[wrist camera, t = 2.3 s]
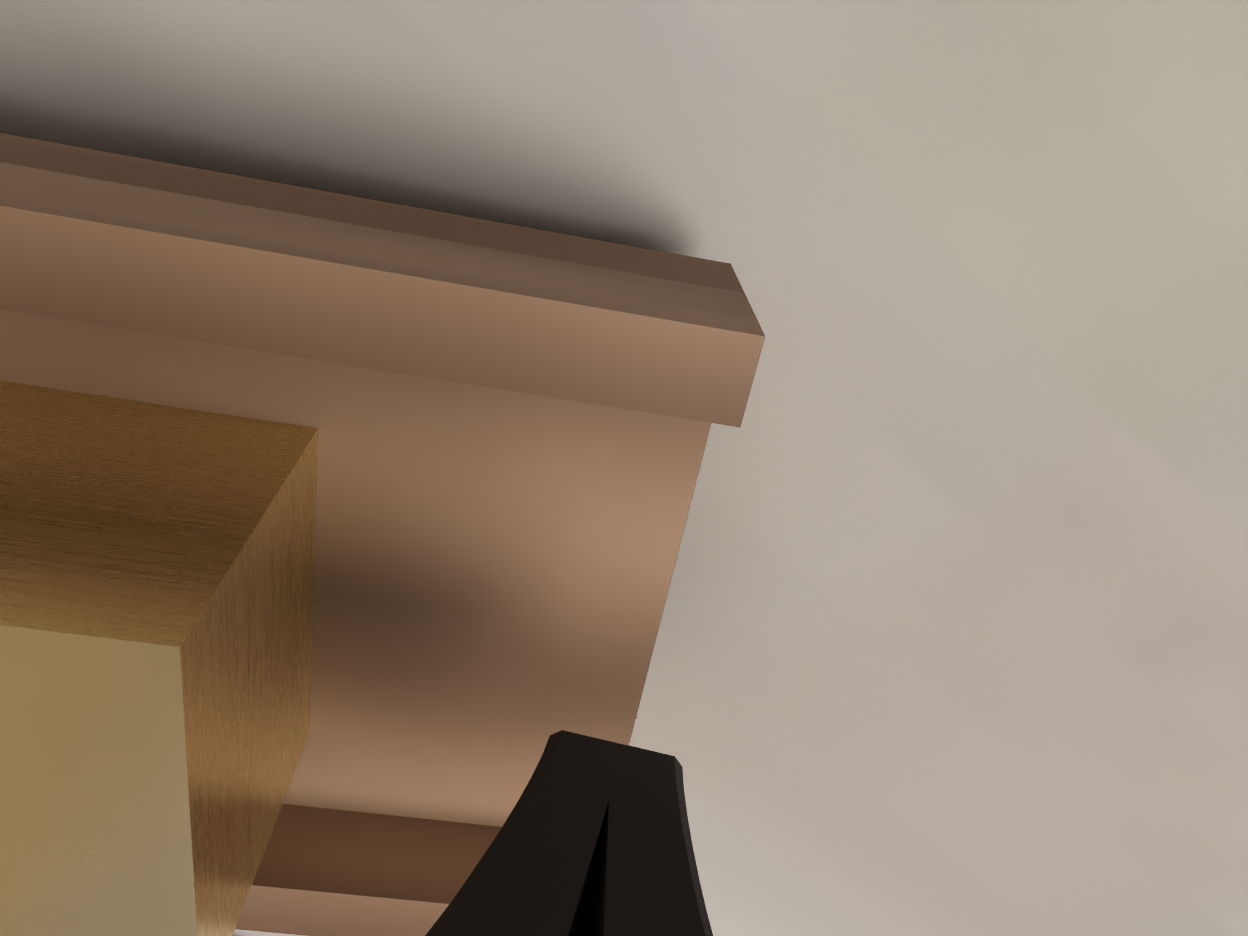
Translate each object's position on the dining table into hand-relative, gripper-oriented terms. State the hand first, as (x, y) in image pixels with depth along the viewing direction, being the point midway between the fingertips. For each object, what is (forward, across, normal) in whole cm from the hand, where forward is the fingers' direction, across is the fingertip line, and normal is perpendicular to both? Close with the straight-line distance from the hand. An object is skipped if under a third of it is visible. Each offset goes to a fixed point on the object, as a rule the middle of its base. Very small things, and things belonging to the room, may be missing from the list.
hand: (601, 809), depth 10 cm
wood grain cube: (+2, +7, 0) cm, 7 cm away
